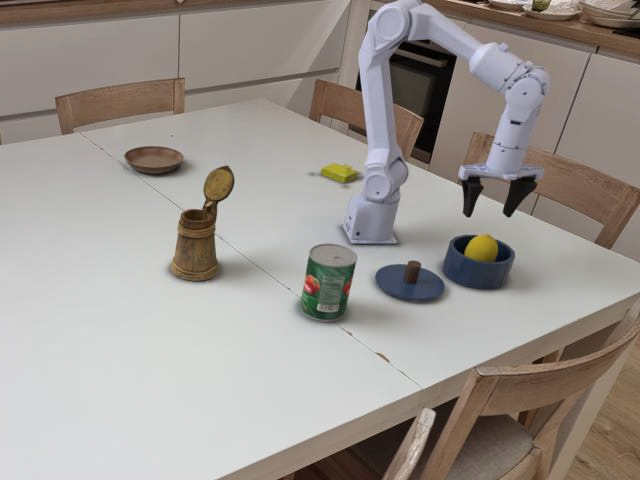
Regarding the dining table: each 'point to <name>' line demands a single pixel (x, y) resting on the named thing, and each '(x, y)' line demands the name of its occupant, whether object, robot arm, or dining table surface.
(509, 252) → the pot
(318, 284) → the canned tomato
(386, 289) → the pot lid
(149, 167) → the saucer
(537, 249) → the dining table surface
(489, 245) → the lemon
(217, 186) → the wooden mug
